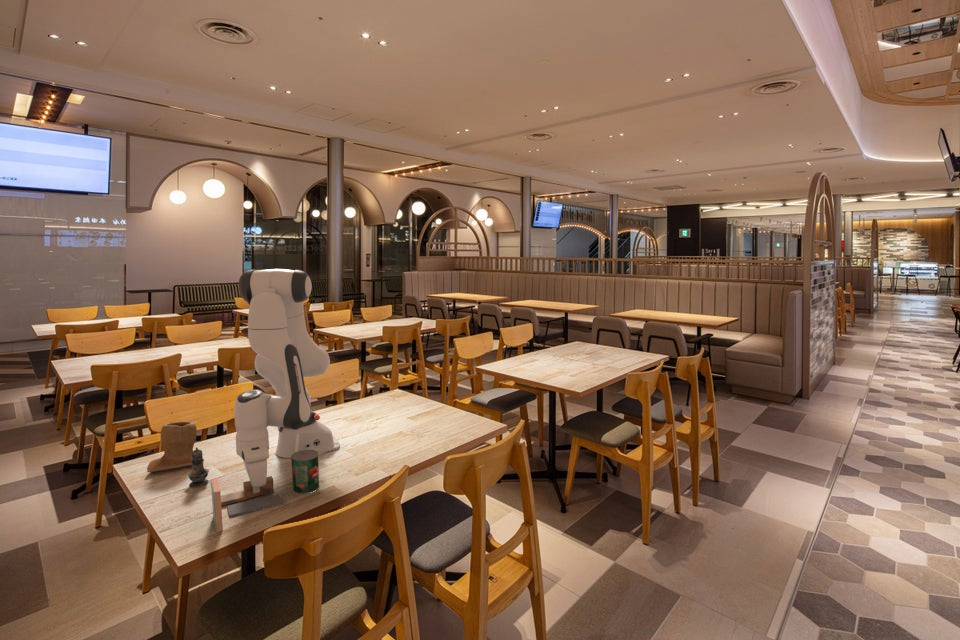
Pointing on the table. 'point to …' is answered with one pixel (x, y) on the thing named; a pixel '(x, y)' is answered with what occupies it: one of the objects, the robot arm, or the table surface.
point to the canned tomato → (305, 471)
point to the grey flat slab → (254, 505)
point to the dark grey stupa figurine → (198, 470)
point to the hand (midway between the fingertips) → (255, 489)
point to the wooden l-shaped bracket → (247, 492)
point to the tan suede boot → (175, 446)
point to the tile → (216, 504)
